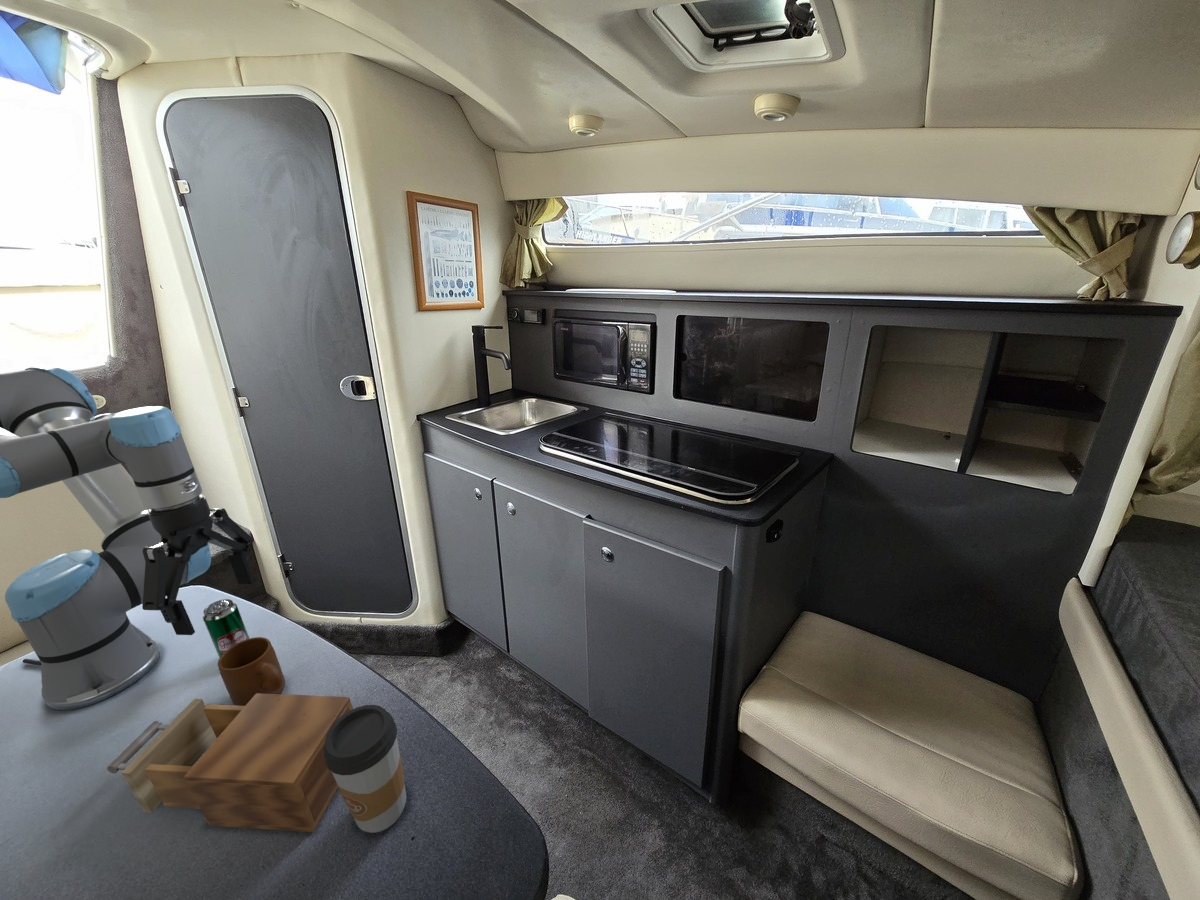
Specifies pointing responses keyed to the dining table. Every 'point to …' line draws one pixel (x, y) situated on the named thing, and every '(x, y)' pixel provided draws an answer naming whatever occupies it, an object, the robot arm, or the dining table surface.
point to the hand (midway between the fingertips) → (218, 606)
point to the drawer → (172, 755)
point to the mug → (251, 670)
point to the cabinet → (270, 765)
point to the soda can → (224, 625)
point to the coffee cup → (367, 766)
